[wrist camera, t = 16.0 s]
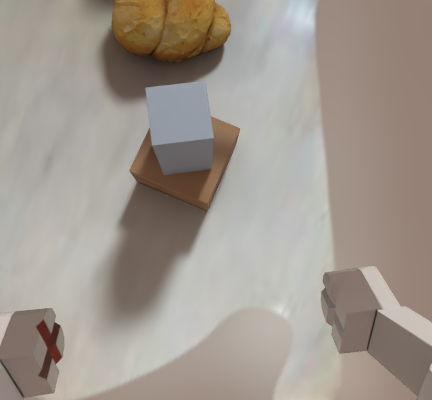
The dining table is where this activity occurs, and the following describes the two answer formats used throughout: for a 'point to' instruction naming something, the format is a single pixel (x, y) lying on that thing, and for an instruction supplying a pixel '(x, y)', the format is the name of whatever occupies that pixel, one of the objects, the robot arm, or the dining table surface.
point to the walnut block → (190, 181)
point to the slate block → (181, 127)
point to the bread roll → (170, 27)
